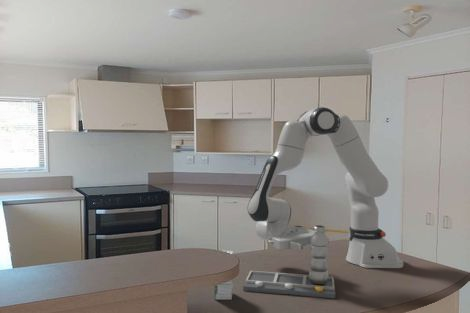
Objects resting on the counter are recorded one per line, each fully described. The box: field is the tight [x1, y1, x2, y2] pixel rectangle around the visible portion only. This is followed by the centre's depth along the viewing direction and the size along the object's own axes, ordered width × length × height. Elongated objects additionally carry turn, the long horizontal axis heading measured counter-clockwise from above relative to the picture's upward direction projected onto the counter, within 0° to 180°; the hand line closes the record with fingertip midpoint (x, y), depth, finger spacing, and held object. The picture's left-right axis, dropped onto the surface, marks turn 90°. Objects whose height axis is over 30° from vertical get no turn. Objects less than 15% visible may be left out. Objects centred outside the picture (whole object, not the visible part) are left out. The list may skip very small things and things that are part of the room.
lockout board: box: [242, 270, 336, 299], centre depth 137 cm, size 30×14×3 cm, turn 78°
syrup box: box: [213, 250, 234, 301], centre depth 128 cm, size 6×6×14 cm
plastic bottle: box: [308, 224, 330, 284], centre depth 136 cm, size 6×7×20 cm
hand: (311, 245), depth 139 cm, fingers open, 8 cm apart
